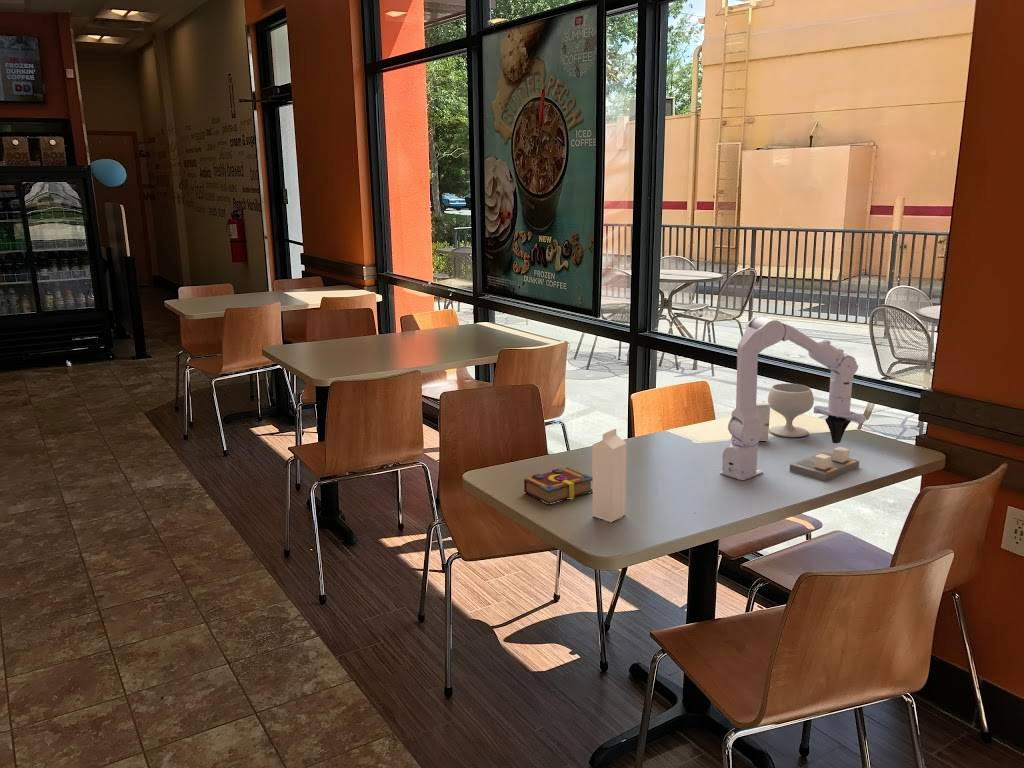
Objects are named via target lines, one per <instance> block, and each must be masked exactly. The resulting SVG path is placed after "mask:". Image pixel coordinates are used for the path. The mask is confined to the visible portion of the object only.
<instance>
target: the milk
mask: <svg viewBox="0 0 1024 768" xmlns="http://www.w3.org/2000/svg"><path fill="white" fill-rule="evenodd" d="M592 477H593V481H592V490H593V493H592V517H593V516H597V517H600V518H601V517H602V518H605V519H608V520H612V521H614V520H615V519H617V518H619V517H621V516H623V515H625V514H626V513H627V512H626V511H627V510H626V509H627V508H626V507H627V442H626V441H625V440H623V438H622V437H620V436H619V435H618V434H617V428H613V429H611V430H609V431H607V432H605V433H602V440H599V441H598V442H595V443H593V444H592Z"/></svg>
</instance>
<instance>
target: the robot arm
mask: <svg viewBox="0 0 1024 768" xmlns="http://www.w3.org/2000/svg"><path fill="white" fill-rule="evenodd" d="M745 326H746V327H745V331H744V332H743V334H742V336H741V338H740V340H739V342H738V344H737V352H736V353H737V354H736V355H737V356H736V390H735V391H736V393H735V395H736V396H735V397H736V398H735V409H734V410H733V411H731V416H730V417H731V418H730V420H729V422H728V425H727V430H728V432H729V434H730V435H731V438H730V443H729V445H728V446H727V447H726V448H724V450H723V452H722V468H721V471H719V474H721V475H724V476H728V477H730V478H733V479H737V480H740V481H745V480H747V479H750V478H753V477H756V476H758V475H762V474H763V473H764V471H763V470H760V469H758V468H757V466H758V447H759V443H760V442H759V441H760V440H761V438H762V429H761V427H760V420H759V417H758V414H757V411H756V402H757V395H758V393H757V392H758V391H757V389H758V388H757V387H758V363H759V362H758V360H759V359H758V357H759V354H760V353H761V352H762V351H764V350H765V349H767V348H769V347H772V346H774V345H775V344H778V343H779V342H781V341H782V342H786V341H789V342H790V343H791V342H792V343H793V344H795V345H796V346H799V347H800V348H802V349H804V350H806V351H808V352H807V353H808V356H809V358H810V359H812V360H814V361H816V362H817V363H819V364H821V365H823V367H826V368H828V370H829V371H830V380H829V394H828V406H822V405H815V406H813V414H815V415H817V414H820V415H823V416H827V417H826V418H825V419H824V420H825V423H826V425H827V427H828V430H829V433H830V437H831V442H832V444H840V443H841V441H842V439H843V436H844V433H845V431H846V429H847V428H848V426H849V425H850V423H851V422H855V423H857V424H864V423H865V420H866V415H864V414H859V413H857V412H854V411H852V410H851V403H852V389H853V388H852V387H853V380H854V375H855V374H856V373H857V371H858V369H859V365H858V364H857V360H856V358H855V357H853V356H852V355H849V354H847V353H844V349H842V348H837V347H835V346H833V345H832V344H831V341H829V340H828V339H824V340H823V339H818V340H814V339H812V338H811V337H809V336H808V335H806V334H804V333H803V332H801V331H800V330H798V329H796V328H795V327H794V326H792V325H789V324H786V323H785V322H784V323H783V322H782V321H780V320H777V319H772V318H769V317H767V316H765V315H762V314H761V315H757V316H754V317H753V318H752V319H751V320H749V321H748V322H747V323H745Z"/></svg>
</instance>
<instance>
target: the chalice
mask: <svg viewBox="0 0 1024 768" xmlns="http://www.w3.org/2000/svg"><path fill="white" fill-rule="evenodd" d="M814 399H815V397H814V394H813V390H812V389H811V387H809V386H808V385H804V384H799V383H788V382H787V383H778V384H774V385H772V387H771V388H770V390H769V393H768V396H767V403H769V404H770V409H772V410H773V411H775V412H777V413H778V414H780V415H782V417H783V418H784V419H785V421H786V423H785V425H776V426H773V427H769V432H770V433H771V434H773V435H776V436H779V437H784V438H785V437H786V438H801V437H806V436H808V435H809V434H810V432H809V431H808V430H807V429H805V428H802V427H799V426H795V425H793V422H794V420H795V419H796V418H797V417H798V416H800V415H803V414H805V413H807V412H809V411H810V410H811V409H813V408H814V403H815V401H814Z"/></svg>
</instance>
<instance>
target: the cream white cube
mask: <svg viewBox="0 0 1024 768" xmlns="http://www.w3.org/2000/svg"><path fill="white" fill-rule="evenodd" d="M818 454H819V453H818ZM814 467H815V468H819V469H823V470H825V469H827V468H830V467H831V456H828V455H825V454H819V455H817V456H815V462H814Z"/></svg>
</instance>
